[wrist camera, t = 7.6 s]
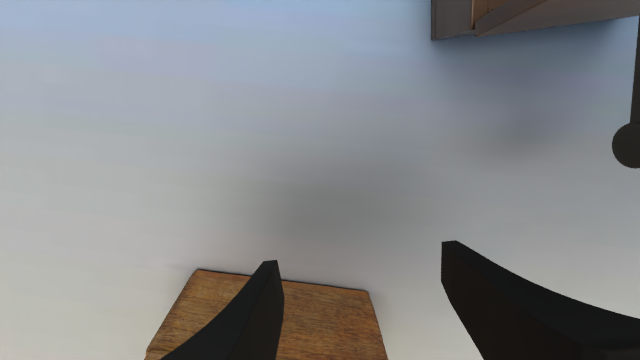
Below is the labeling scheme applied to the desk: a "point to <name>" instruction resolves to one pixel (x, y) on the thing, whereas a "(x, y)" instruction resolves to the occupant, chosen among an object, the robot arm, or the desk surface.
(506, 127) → the desk surface
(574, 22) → the lid
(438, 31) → the box
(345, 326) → the wooden box
